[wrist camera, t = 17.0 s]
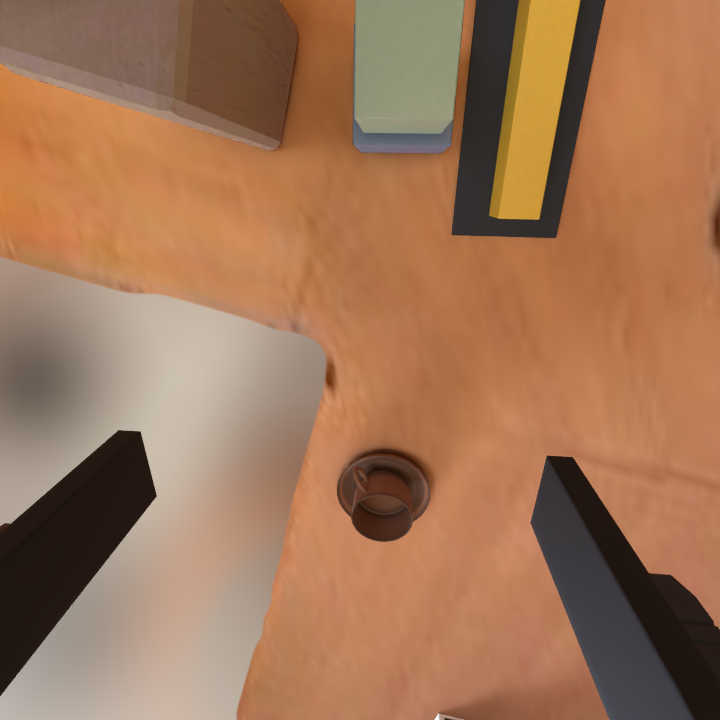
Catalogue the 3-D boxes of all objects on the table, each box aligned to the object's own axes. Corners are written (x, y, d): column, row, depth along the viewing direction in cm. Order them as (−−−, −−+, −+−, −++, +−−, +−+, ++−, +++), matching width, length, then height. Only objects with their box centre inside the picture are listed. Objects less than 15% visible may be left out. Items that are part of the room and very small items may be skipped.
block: (189, -7, 34) (-58, -243, 15) (303, 28, 34) (192, -162, 16) (180, 124, 38) (-25, 61, 19) (281, 154, 38) (174, 121, 20)
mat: (482, -61, 31) (483, -64, 30) (616, -64, 30) (619, -67, 30) (451, 234, 39) (452, 235, 39) (554, 237, 39) (556, 237, 38)
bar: (522, -28, 31) (539, -57, 27) (568, -29, 31) (591, -59, 27) (488, 215, 38) (498, 218, 34) (525, 216, 38) (539, 219, 34)
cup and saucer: (321, 487, 54) (312, 522, 48) (374, 430, 49) (371, 461, 44) (391, 531, 56) (390, 569, 50) (448, 479, 51) (454, 515, 46)
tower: (361, 53, 34) (340, -28, 21) (450, 53, 34) (483, -31, 21) (360, 152, 37) (341, 132, 24) (441, 153, 37) (465, 134, 24)
